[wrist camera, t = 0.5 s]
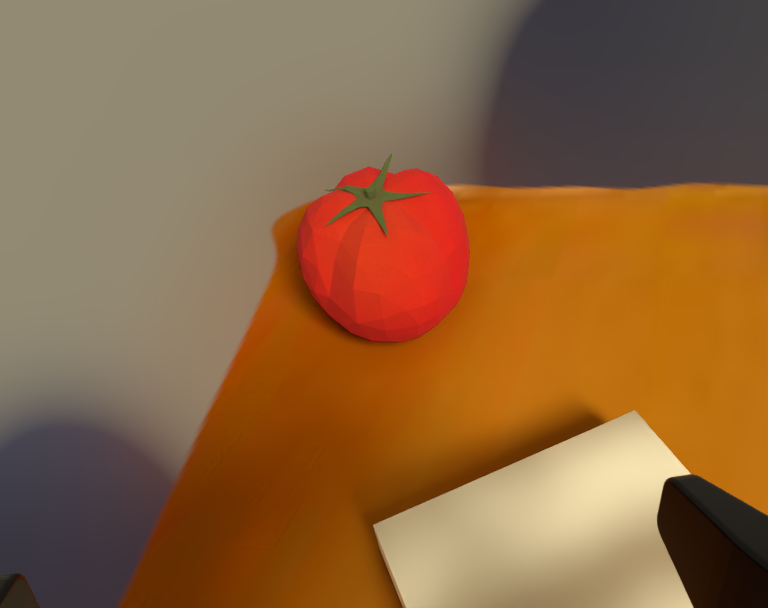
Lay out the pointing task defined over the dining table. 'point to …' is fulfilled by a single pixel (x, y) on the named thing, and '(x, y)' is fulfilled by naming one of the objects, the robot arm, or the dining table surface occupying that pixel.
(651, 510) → the beech block
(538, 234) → the dining table surface
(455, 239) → the tomato
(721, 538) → the robot arm
